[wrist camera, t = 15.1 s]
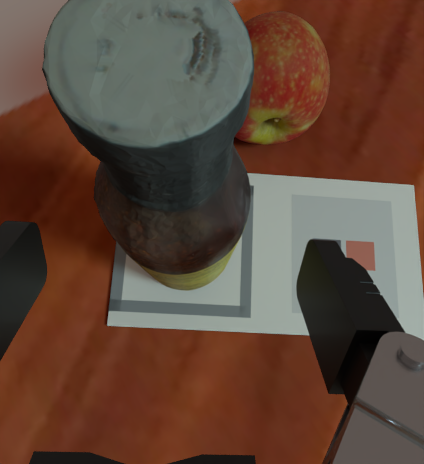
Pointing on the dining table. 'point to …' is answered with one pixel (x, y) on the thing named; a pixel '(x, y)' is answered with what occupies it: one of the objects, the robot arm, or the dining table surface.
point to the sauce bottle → (159, 125)
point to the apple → (284, 79)
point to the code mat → (287, 260)
